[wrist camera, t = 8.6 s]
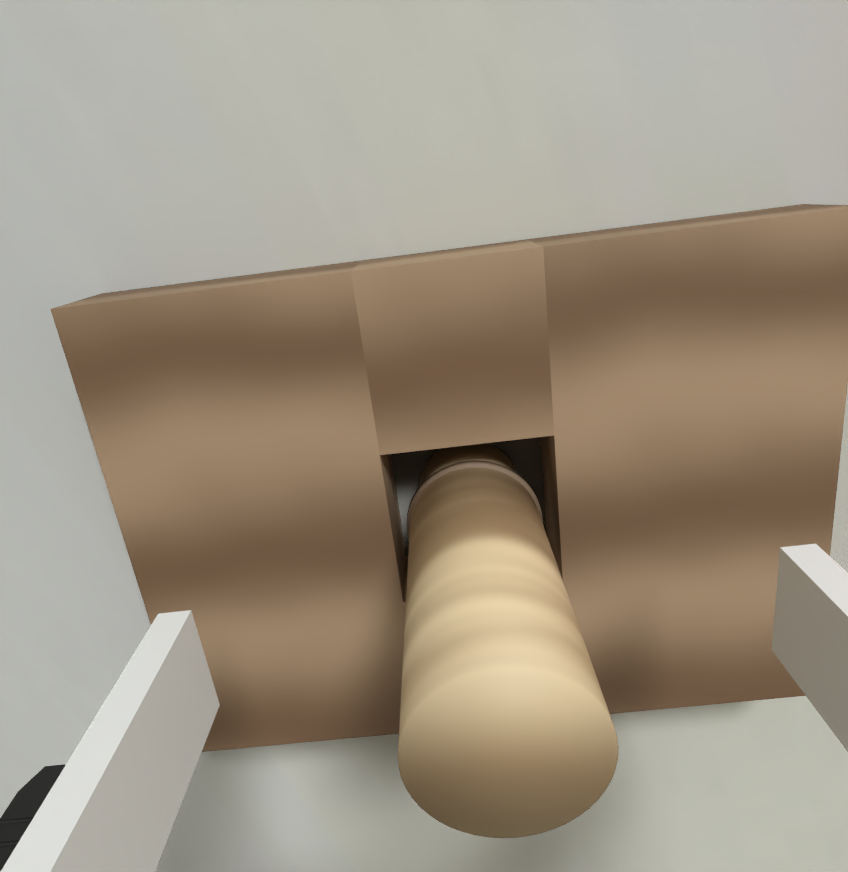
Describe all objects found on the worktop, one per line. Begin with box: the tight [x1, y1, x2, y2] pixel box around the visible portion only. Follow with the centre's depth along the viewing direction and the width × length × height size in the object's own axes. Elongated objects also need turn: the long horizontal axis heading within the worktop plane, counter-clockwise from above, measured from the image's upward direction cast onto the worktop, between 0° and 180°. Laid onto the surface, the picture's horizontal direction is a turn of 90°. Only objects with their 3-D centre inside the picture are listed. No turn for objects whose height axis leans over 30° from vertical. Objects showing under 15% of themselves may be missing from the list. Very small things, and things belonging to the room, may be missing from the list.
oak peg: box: [398, 443, 618, 838], centre depth 18 cm, size 4×4×12 cm
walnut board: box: [51, 204, 848, 752], centre depth 22 cm, size 16×22×3 cm
